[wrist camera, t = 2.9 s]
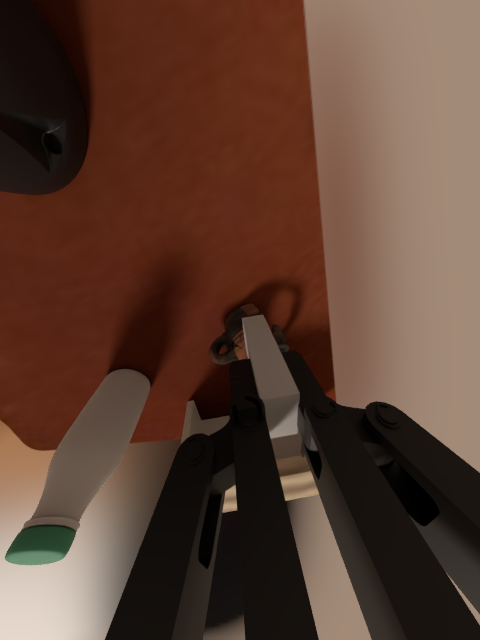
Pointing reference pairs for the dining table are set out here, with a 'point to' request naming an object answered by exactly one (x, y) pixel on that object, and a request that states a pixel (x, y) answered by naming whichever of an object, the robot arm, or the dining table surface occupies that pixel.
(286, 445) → the small wooden bench
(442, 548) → the robot arm
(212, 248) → the dining table surface
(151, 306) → the dining table surface
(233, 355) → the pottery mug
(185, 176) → the dining table surface
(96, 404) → the milk bottle
